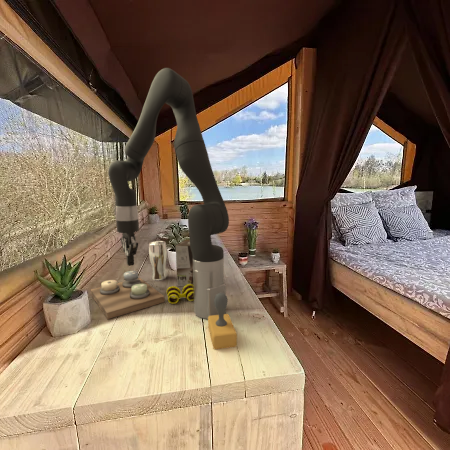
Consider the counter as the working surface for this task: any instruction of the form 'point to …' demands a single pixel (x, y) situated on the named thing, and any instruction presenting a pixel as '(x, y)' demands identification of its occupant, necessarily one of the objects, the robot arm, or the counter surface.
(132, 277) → the button
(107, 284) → the button
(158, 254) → the beer glass
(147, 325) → the counter surface
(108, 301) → the button board
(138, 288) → the button
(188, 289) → the opera glasses
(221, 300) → the rubber stamp
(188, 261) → the coffee box
